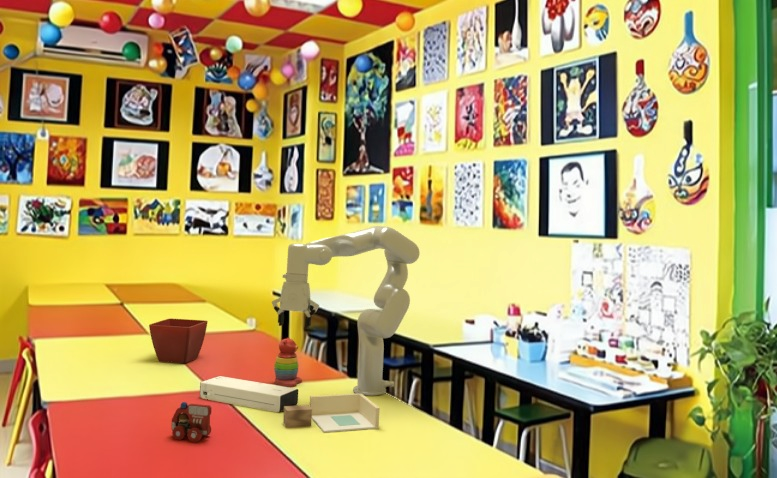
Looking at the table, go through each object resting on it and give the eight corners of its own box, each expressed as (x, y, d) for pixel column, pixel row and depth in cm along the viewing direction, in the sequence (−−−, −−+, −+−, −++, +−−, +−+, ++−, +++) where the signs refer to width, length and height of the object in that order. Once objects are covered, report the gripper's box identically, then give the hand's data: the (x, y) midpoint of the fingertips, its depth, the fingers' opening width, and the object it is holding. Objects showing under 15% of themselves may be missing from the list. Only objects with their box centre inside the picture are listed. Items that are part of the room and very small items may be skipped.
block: (307, 421, 219) (308, 405, 219) (311, 426, 214) (311, 409, 214) (283, 423, 216) (283, 406, 216) (286, 428, 212) (286, 410, 211)
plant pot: (146, 362, 292) (147, 324, 291) (168, 354, 311) (169, 317, 310) (188, 366, 289) (189, 327, 288) (207, 357, 308) (208, 320, 307)
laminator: (297, 406, 237) (298, 388, 237) (278, 415, 226) (279, 396, 226) (219, 392, 251) (220, 375, 251) (197, 399, 240) (198, 382, 240)
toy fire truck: (179, 431, 204) (180, 397, 204) (216, 437, 200) (217, 402, 200) (165, 438, 197) (166, 403, 197) (203, 444, 194) (204, 408, 193)
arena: (360, 412, 231) (361, 393, 231) (378, 428, 215) (379, 407, 214) (309, 415, 225) (310, 396, 225) (323, 432, 208) (324, 411, 208)
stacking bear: (294, 387, 260) (296, 341, 260) (269, 385, 262) (271, 339, 262) (303, 381, 271) (305, 337, 270) (279, 379, 273) (281, 335, 272)
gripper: (270, 277, 237) (267, 325, 238) (317, 281, 234) (314, 330, 234) (277, 276, 245) (274, 323, 245) (323, 279, 241) (320, 327, 242)
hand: (294, 326), depth 240 cm, fingers open, 9 cm apart
